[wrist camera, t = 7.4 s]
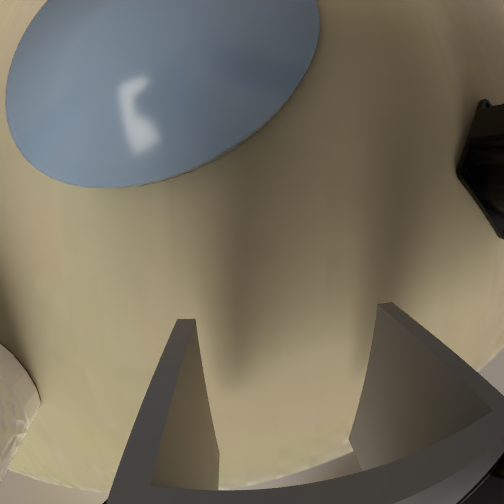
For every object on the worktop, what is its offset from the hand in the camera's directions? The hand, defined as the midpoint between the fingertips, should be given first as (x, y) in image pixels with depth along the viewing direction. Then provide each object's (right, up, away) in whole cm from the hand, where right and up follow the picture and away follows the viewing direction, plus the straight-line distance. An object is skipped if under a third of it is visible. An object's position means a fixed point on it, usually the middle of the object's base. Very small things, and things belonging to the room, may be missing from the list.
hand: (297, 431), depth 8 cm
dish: (-7, +16, +1) cm, 18 cm away
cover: (0, 0, +2) cm, 2 cm away
